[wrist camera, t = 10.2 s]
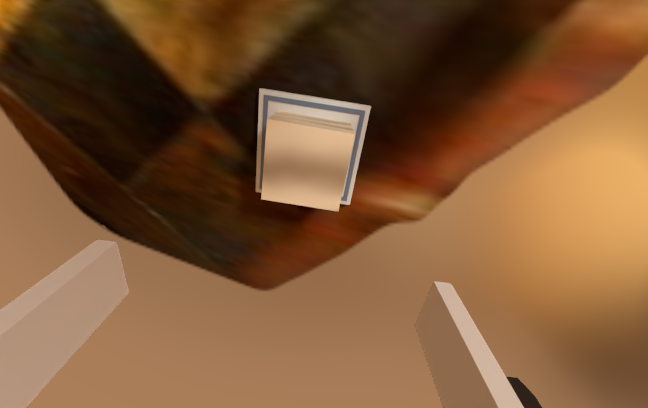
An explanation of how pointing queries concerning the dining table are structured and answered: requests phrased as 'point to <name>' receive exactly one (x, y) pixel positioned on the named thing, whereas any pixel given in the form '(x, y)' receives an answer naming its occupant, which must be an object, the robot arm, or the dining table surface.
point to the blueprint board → (317, 108)
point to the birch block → (306, 160)
